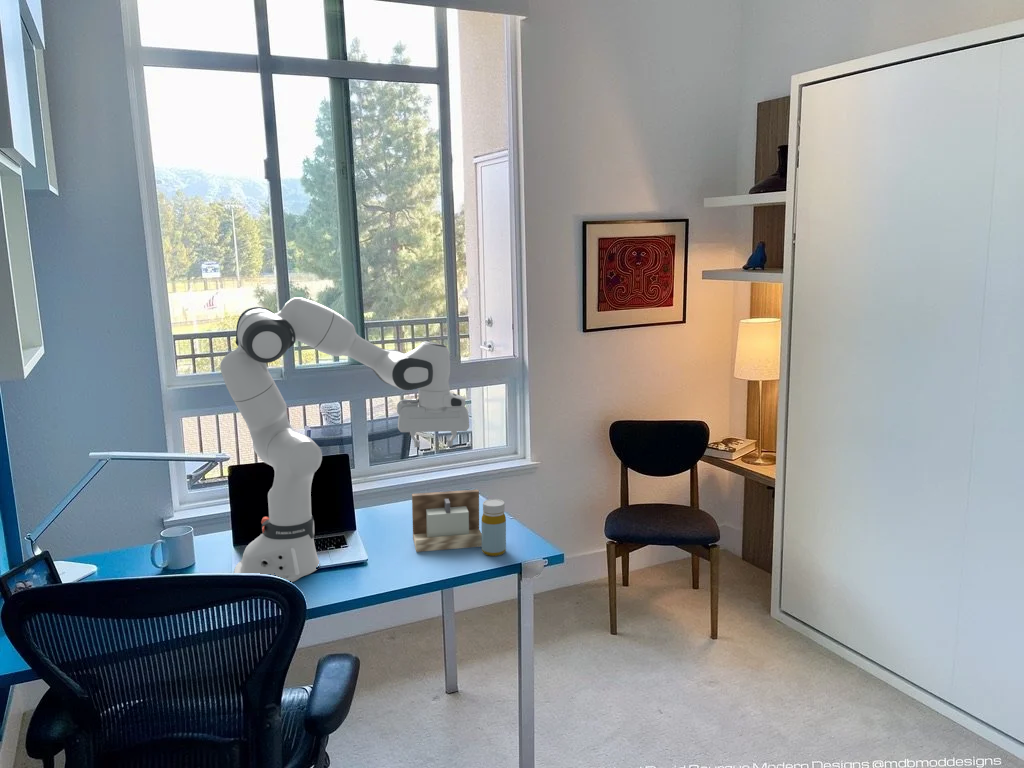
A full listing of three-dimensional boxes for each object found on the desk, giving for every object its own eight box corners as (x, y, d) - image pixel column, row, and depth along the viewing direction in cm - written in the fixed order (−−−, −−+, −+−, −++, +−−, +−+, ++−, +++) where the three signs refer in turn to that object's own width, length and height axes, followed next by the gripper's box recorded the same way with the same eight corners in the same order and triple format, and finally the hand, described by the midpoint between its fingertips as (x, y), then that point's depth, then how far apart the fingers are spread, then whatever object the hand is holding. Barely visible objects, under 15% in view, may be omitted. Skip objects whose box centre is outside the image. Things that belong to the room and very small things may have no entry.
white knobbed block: (428, 540, 222) (427, 505, 220) (426, 534, 227) (425, 499, 224) (468, 537, 224) (468, 502, 222) (466, 531, 229) (466, 496, 227)
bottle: (484, 558, 215) (484, 507, 212) (479, 548, 222) (479, 499, 219) (508, 555, 217) (508, 505, 214) (502, 545, 223) (502, 497, 221)
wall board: (416, 551, 219) (415, 506, 216) (412, 537, 229) (411, 493, 226) (484, 546, 223) (484, 501, 220) (478, 532, 233) (477, 489, 230)
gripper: (397, 401, 209) (397, 450, 211) (470, 400, 213) (469, 448, 216) (396, 397, 215) (395, 444, 217) (467, 396, 220) (466, 442, 222)
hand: (433, 446), depth 217 cm, fingers open, 8 cm apart
